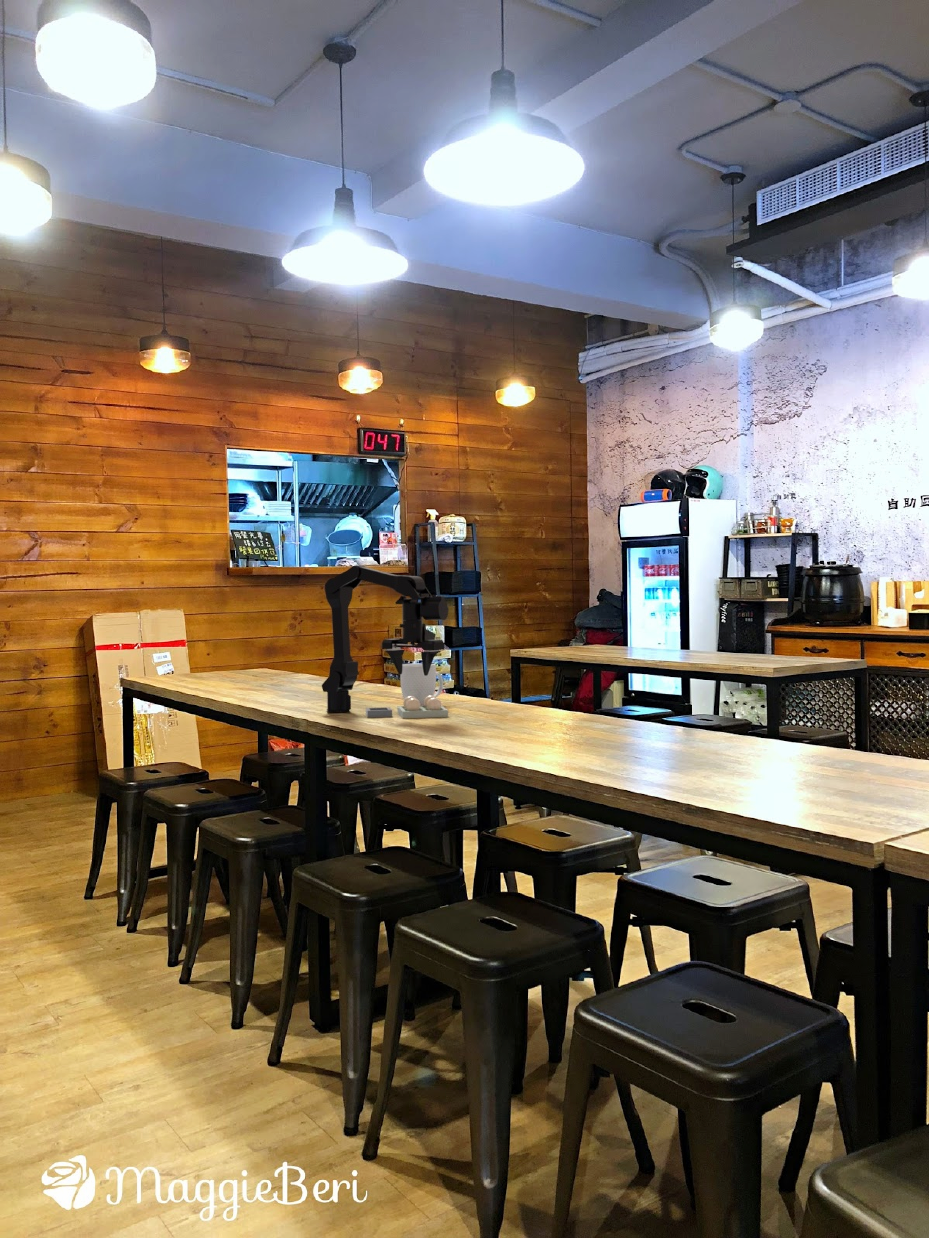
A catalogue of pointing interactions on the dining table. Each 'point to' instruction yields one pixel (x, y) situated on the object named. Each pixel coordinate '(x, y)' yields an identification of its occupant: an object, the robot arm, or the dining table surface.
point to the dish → (379, 712)
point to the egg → (413, 705)
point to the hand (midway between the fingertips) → (413, 674)
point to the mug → (419, 682)
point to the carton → (424, 709)
